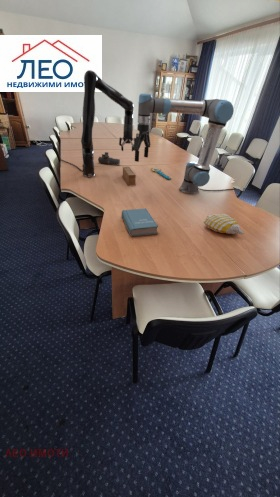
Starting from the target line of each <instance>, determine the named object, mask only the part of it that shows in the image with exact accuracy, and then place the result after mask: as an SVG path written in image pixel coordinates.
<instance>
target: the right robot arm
mask: <svg viewBox="0 0 280 497" xmlns="http://www.w3.org/2000/svg"><path fill="white" fill-rule="evenodd" d="M137 103H138V105H137V106H138V109H137V128H136V129H137V130H136V131H138V133H136V135H135V138H136V140H135V144H134V143H133V144H134V148H133V150H134V151H133V152H134V162H136V163H139V162H140V148H141V146H142V143H143V144H144V149H143V150H144V152H143V157H144V158H146V159H147V158H149V148H151V139H150V123H151V114H161V115H168V114H170V113H173V114H185V115H187V114H188V115H198V116H199V117H204V118H207V119H208V120H207V124H208V128H207V131H206V135H205V137H204V141H203V144H202V147H201V151H200V153H199V156H198V160H197V161H188V162H186V165H185V169H184V175H183V181H182V182H181V185H180V187H179V191H180V193H183V194H186V195H195V194H196V195H197V194H198V193H199V191H200V190H201V191H204V192H221V191H222V192H223V191H233V190H235V188H227V189H226V188H225V189H202V188H199V187H204V186H206V185H207V184H208V183H209V182H210V180H211V179H210V178H211V177H210V171H211V167H210V164H211V161H212V160H213V156H214V153H215V150H216V147H217V145H218V141H219V138H220V135H221V133H222V131H223V129H224V128H225V127H226V126H227V123H228V122H229V121H230V120H231V119H232V118H233V116H234V109H235V108H234V105H233V103H232V102H231V101H229V100H227V99H219V98H213V99H201V100H191V99H178V98H177V99H176V98H167V97H166V98H164V97H155V96H154V97H153V96H152V94H151V93H140V94H139V96H138V102H137ZM244 190H248V191H251V189H250V188H249V187H247V188H246V187H245V188H244Z"/></svg>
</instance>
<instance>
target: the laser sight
mask: <svg viewBox="0 0 280 497" xmlns="http://www.w3.org/2000/svg"><path fill="white" fill-rule="evenodd" d="M97 161H98V163H99V164H103V165H104V164H105V165H110V166H112V165H116V166H119V165H120V163H121V159H119V158H113V157H110V155H109V152H107V151H105V152H104V153H101V156H98V159H97Z"/></svg>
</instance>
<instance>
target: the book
mask: <svg viewBox="0 0 280 497" xmlns="http://www.w3.org/2000/svg"><path fill="white" fill-rule="evenodd" d="M121 218H122V220H123V222H124V224H125V225H124V226H125V227H126V229H127V231H128V233H129V236H131V237H139V236H149V235H157V234H158V228H159V225H158V224H157V222H156V221H155V218H154V217H153V216H152V215H151V212H149V211H148V208H147V207H146V208H134V209H133V208H132V209H123V210H122V211H121Z"/></svg>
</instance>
